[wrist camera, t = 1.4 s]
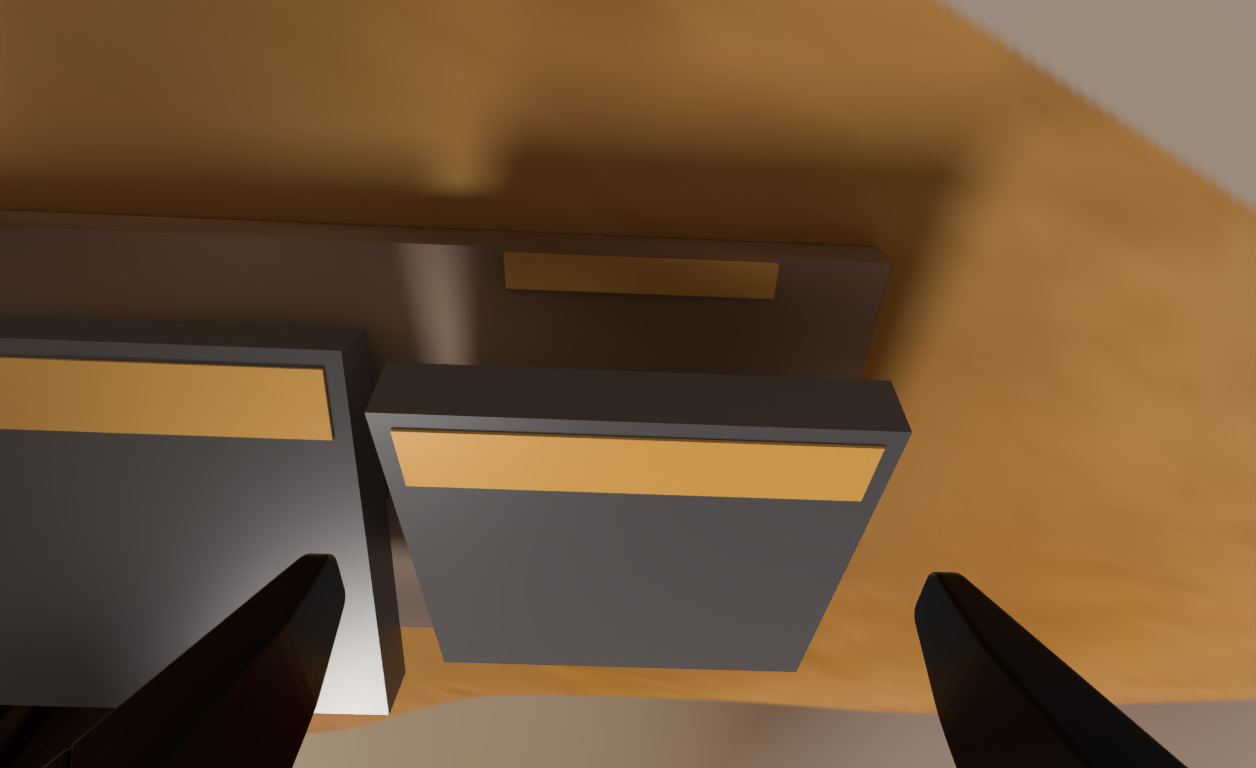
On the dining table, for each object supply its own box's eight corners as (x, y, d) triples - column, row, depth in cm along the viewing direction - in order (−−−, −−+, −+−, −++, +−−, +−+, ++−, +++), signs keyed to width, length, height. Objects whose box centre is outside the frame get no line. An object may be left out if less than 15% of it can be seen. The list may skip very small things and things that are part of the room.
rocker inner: (405, 672, 18) (387, 717, 17) (38, 662, 18) (-8, 706, 17) (365, 329, 15) (339, 352, 13) (-100, 311, 14) (-175, 332, 13)
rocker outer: (787, 625, 20) (796, 674, 19) (454, 615, 20) (443, 664, 19) (890, 380, 13) (913, 435, 12) (386, 362, 13) (363, 415, 12)
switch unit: (782, 612, 22) (796, 671, 21) (123, 592, 22) (77, 651, 20) (877, 246, 15) (910, 286, 14) (-88, 206, 15) (-189, 241, 13)
